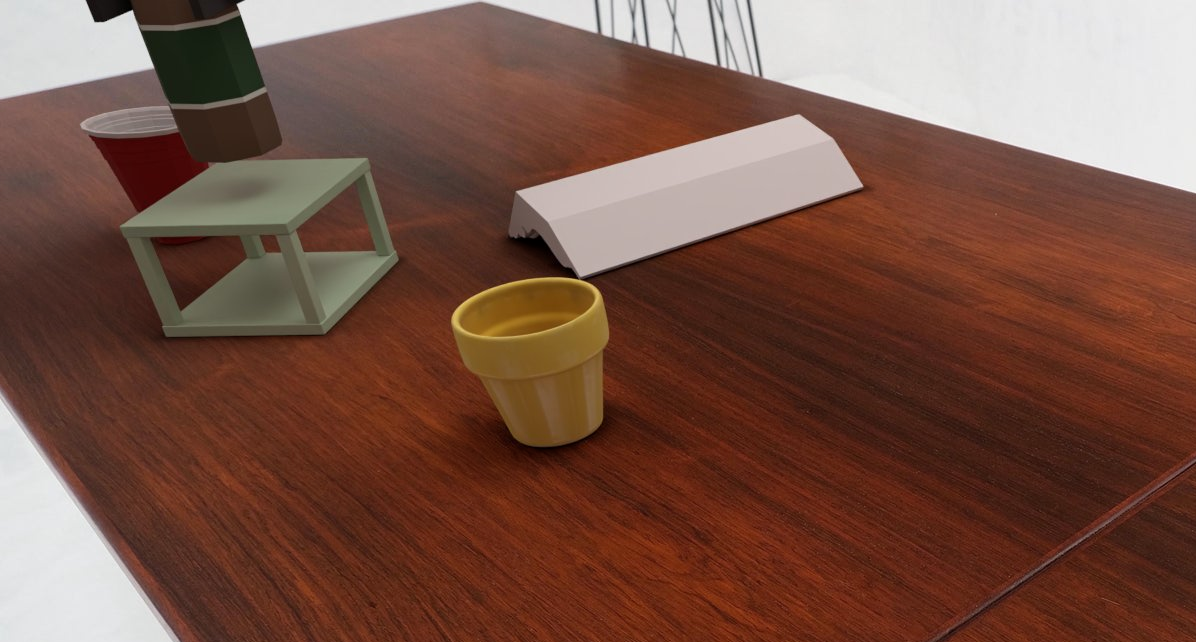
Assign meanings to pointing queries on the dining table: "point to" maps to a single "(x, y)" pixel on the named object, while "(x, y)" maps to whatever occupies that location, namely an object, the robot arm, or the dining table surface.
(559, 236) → the molding piece
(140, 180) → the plastic cup
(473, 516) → the dining table surface
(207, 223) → the rack
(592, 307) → the flower pot
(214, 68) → the beer bottle
